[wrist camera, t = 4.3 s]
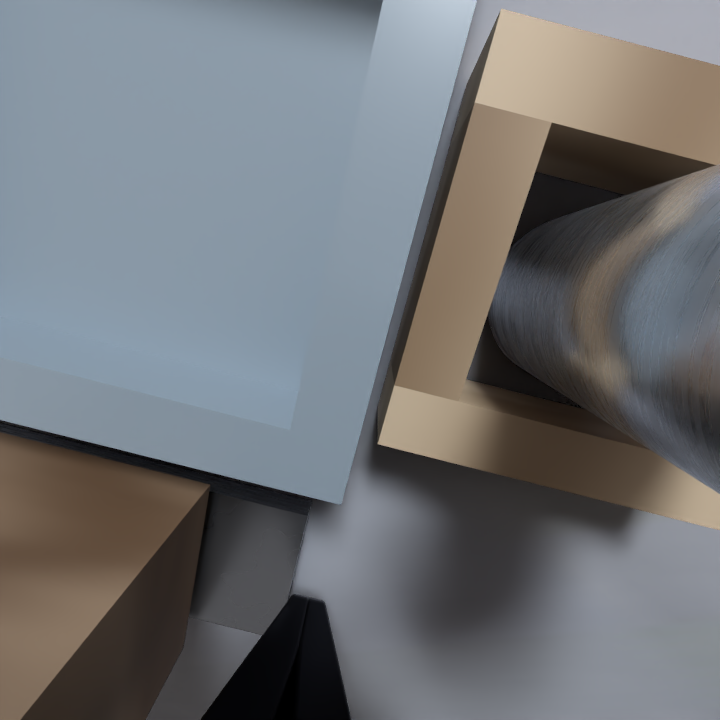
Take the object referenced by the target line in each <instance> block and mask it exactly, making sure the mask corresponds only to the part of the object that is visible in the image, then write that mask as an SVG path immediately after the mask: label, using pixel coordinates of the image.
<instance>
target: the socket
mask: <svg viewBox="0 0 720 720" xmlns="http://www.w3.org/2000/svg"><path fill="white" fill-rule="evenodd" d="M718 164H720V66H718V65H714V64H710V63H706V62H703V61H699V60H695V59H691V58H687V57H684V56H680V55H676V54H672V53H668V52H664V51H661V50H657V49H653V48H649V47H645V46H642V45H638V44H634V43H630V42H626V41H623V40H619V39H615V38H611V37H607V36H603V35H600V34H596V33H592V32H588V31H584V30H581V29H577V28H573V27H569V26H565V25H561V24H558V23H554V22H550V21H546V20H542V19H539V18H535V17H531V16H527V15H523V14H519V13H516V12H512V11H508V10H504V9H501V11H500V13H499V15H498V17H497V19H496V22H495V24H494V26H493V28H492V30H491V32H490V35H489V37H488V39H487V41H486V43H485V46H484V48H483V50H482V52H481V54H480V56H479V59H478V61H477V63H476V65H475V67H474V69H473V72H472V74H471V76H470V78H469V80H468V83H467V85H466V89H465V93H464V96H463V100H462V104H461V107H460V111H459V114H458V118H457V122H456V125H455V129H454V132H453V136H452V140H451V143H450V147H449V151H448V154H447V158H446V161H445V165H444V169H443V172H442V176H441V179H440V183H439V187H438V190H437V194H436V198H435V201H434V205H433V208H432V212H431V216H430V219H429V223H428V226H427V230H426V234H425V237H424V241H423V245H422V248H421V252H420V255H419V259H418V263H417V266H416V270H415V274H414V277H413V281H412V284H411V288H410V292H409V295H408V299H407V302H406V306H405V310H404V313H403V317H402V321H401V324H400V328H399V331H398V335H397V339H396V342H395V346H394V349H393V353H392V357H391V360H390V364H389V368H388V371H387V375H386V378H385V382H384V386H383V389H382V393H381V396H380V400H379V404H378V444H379V445H383V446H387V447H391V448H395V449H399V450H403V451H407V452H411V453H415V454H419V455H423V456H427V457H431V458H435V459H439V460H442V461H446V462H450V463H454V464H458V465H462V466H466V467H470V468H474V469H478V470H482V471H486V472H490V473H494V474H498V475H502V476H506V477H510V478H514V479H518V480H522V481H526V482H530V483H534V484H538V485H542V486H546V487H550V488H554V489H558V490H562V491H566V492H570V493H574V494H578V495H582V496H586V497H590V498H594V499H598V500H602V501H606V502H610V503H614V504H618V505H622V506H626V507H630V508H634V509H638V510H642V511H646V512H649V513H653V514H657V515H661V516H665V517H669V518H673V519H677V520H681V521H685V522H689V523H693V524H697V525H701V526H705V527H709V528H713V529H717V530H720V494H719V493H717V492H716V491H714V490H712V489H711V488H709V487H708V486H706V485H705V484H703V483H701V482H700V481H698V480H697V479H695V478H694V477H692V476H690V475H689V474H687V473H686V472H684V471H682V470H681V469H679V468H678V467H676V466H675V465H673V464H671V463H670V462H668V461H667V460H665V459H664V458H662V457H660V456H659V455H657V454H656V453H654V452H653V451H651V450H649V449H648V448H646V447H645V446H643V445H641V444H640V443H638V442H637V441H635V440H634V439H632V438H630V437H629V436H627V435H626V434H624V433H623V432H621V431H619V430H618V429H616V428H615V427H613V426H612V425H610V424H608V423H607V422H605V421H604V420H602V419H600V418H599V417H597V416H596V415H594V414H593V413H591V412H589V411H588V410H586V409H582V408H578V407H574V406H570V405H566V404H562V403H558V402H554V401H550V400H546V399H542V398H538V397H534V396H530V395H526V394H522V393H518V392H514V391H510V390H507V389H503V388H499V387H495V386H491V385H487V384H483V383H479V382H475V381H471V380H467V379H466V378H467V375H468V372H469V369H470V366H471V363H472V360H473V357H474V354H475V351H476V348H477V345H478V342H479V339H480V336H481V333H482V330H483V327H484V324H485V321H486V318H487V315H488V312H489V309H490V306H491V303H492V300H493V297H494V294H495V291H496V288H497V285H498V282H499V279H500V276H501V273H502V270H503V267H504V264H505V261H506V258H507V255H508V252H509V249H510V246H511V243H512V240H513V237H514V234H515V231H516V228H517V225H518V222H519V219H520V216H521V213H522V210H523V207H524V204H525V201H526V198H527V195H528V192H529V189H530V186H531V183H532V180H533V177H534V174H535V172H539V173H543V174H546V175H550V176H554V177H558V178H562V179H566V180H570V181H574V182H577V183H581V184H585V185H589V186H593V187H597V188H601V189H604V190H608V191H612V192H616V193H620V194H624V195H628V194H631V193H634V192H637V191H640V190H643V189H646V188H649V187H652V186H655V185H658V184H661V183H664V182H667V181H670V180H673V179H676V178H679V177H682V176H685V175H688V174H691V173H694V172H697V171H700V170H703V169H706V168H709V167H712V166H715V165H718Z"/></svg>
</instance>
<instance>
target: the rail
mask: <svg viewBox="0 0 720 720" xmlns="http://www.w3.org/2000/svg"><path fill="white" fill-rule="evenodd" d="M0 432H1V433H5V434H9V435H13V436H17V437H21V438H25V439H29V440H33V441H37V442H41V443H45V444H49V445H53V446H57V447H61V448H65V449H69V450H73V451H77V452H81V453H85V454H89V455H93V456H97V457H101V458H105V459H109V460H113V461H117V462H121V463H125V464H129V465H133V466H137V467H141V468H145V469H149V470H153V471H157V472H161V473H165V474H169V475H174V476H178V477H182V478H186V479H190V480H194V481H198V482H202V483H206V484H210V490H209V496H208V502H207V508H206V514H205V520H204V527H203V533H202V539H201V545H200V551H199V557H198V563H197V569H196V575H195V581H194V587H193V593H192V599H191V606H190V612H189V617H191V618H195V619H199V620H203V621H207V622H211V623H216V624H220V625H224V626H228V627H232V628H236V629H240V630H244V631H248V632H252V633H256V634H260V635H263V634H264V632H265V631H266V630H267V628H268V627H269V626H270V624H271V623H272V622H273V620H274V619H275V618H276V616H277V615H278V613H279V612H280V611H281V609H282V608H283V607H284V605H285V604H286V603H287V601H288V598H289V593H290V589H291V585H292V581H293V577H294V573H295V569H296V565H297V561H298V557H299V553H300V549H301V545H302V541H303V537H304V532H305V528H306V524H307V520H308V516H309V512H310V508H311V504H312V501H310V500H306V499H302V498H298V497H294V496H290V495H286V494H282V493H278V492H274V491H270V490H266V489H262V488H258V487H254V486H250V485H246V484H242V483H238V482H234V481H230V480H226V479H222V478H218V477H214V476H210V475H206V474H202V473H198V472H194V471H190V470H186V469H182V468H178V467H174V466H170V465H166V464H162V463H158V462H154V461H150V460H146V459H142V458H138V457H134V456H130V455H126V454H122V453H118V452H114V451H110V450H106V449H102V448H98V447H94V446H90V445H86V444H82V443H78V442H74V441H70V440H66V439H62V438H58V437H54V436H50V435H46V434H42V433H38V432H34V431H30V430H26V429H22V428H18V427H14V426H10V425H6V424H2V423H0Z"/></svg>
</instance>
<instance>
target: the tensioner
mask: <svg viewBox="0 0 720 720" xmlns="http://www.w3.org/2000/svg"><path fill="white" fill-rule="evenodd" d="M209 490H210V484H206V483H202V482H198V481H194V480H190V479H186V478H182V477H178V476H174V475H169V474H165V473H161V472H157V471H153V470H149V469H145V468H141V467H137V466H133V465H129V464H125V463H121V462H117V461H113V460H109V459H105V458H101V457H97V456H93V455H89V454H85V453H81V452H77V451H73V450H69V449H65V448H61V447H57V446H53V445H49V444H45V443H41V442H37V441H33V440H29V439H25V438H21V437H17V436H13V435H9V434H5V433H1V432H0V720H146V718H147V716H148V714H149V712H150V710H151V708H152V706H153V704H154V702H155V701H156V699H157V697H158V695H159V693H160V691H161V689H162V687H163V685H164V683H165V681H166V680H167V678H168V676H169V674H170V672H171V670H172V668H173V666H174V664H175V662H176V661H177V659H178V657H179V655H180V653H181V651H182V649H183V647H184V642H185V636H186V630H187V624H188V618H189V612H190V606H191V599H192V593H193V587H194V581H195V575H196V569H197V563H198V557H199V551H200V545H201V539H202V533H203V527H204V520H205V514H206V508H207V502H208V496H209Z"/></svg>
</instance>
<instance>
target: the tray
mask: <svg viewBox="0 0 720 720" xmlns="http://www.w3.org/2000/svg"><path fill="white" fill-rule="evenodd" d="M476 2H477V0H0V420H2V421H6V422H10V423H14V424H18V425H22V426H27V427H31V428H35V429H39V430H43V431H47V432H51V433H55V434H59V435H63V436H67V437H71V438H75V439H79V440H83V441H87V442H91V443H95V444H99V445H103V446H107V447H111V448H115V449H119V450H123V451H127V452H131V453H135V454H139V455H143V456H147V457H151V458H155V459H159V460H163V461H167V462H171V463H175V464H179V465H183V466H187V467H191V468H195V469H199V470H203V471H207V472H211V473H215V474H219V475H223V476H227V477H231V478H235V479H239V480H243V481H247V482H251V483H255V484H259V485H263V486H267V487H271V488H275V489H279V490H283V491H287V492H291V493H295V494H299V495H303V496H307V497H311V498H315V499H319V500H323V501H327V502H331V503H335V504H339V505H341V504H342V500H343V496H344V492H345V489H346V485H347V481H348V478H349V474H350V470H351V466H352V463H353V459H354V455H355V452H356V448H357V444H358V440H359V437H360V433H361V429H362V426H363V422H364V418H365V414H366V411H367V407H368V403H369V400H370V396H371V392H372V388H373V385H374V381H375V377H376V374H377V370H378V366H379V362H380V359H381V355H382V351H383V348H384V344H385V340H386V336H387V333H388V329H389V325H390V322H391V318H392V314H393V310H394V307H395V303H396V299H397V296H398V292H399V288H400V284H401V281H402V277H403V273H404V270H405V266H406V262H407V258H408V255H409V251H410V247H411V244H412V240H413V236H414V232H415V229H416V225H417V221H418V218H419V214H420V210H421V206H422V203H423V199H424V195H425V192H426V188H427V184H428V180H429V177H430V173H431V169H432V166H433V162H434V158H435V154H436V151H437V147H438V143H439V140H440V136H441V132H442V128H443V125H444V121H445V117H446V114H447V110H448V106H449V102H450V99H451V95H452V91H453V88H454V84H455V80H456V76H457V73H458V69H459V65H460V62H461V58H462V54H463V50H464V47H465V43H466V39H467V36H468V32H469V28H470V24H471V21H472V17H473V13H474V10H475V6H476Z"/></svg>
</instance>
